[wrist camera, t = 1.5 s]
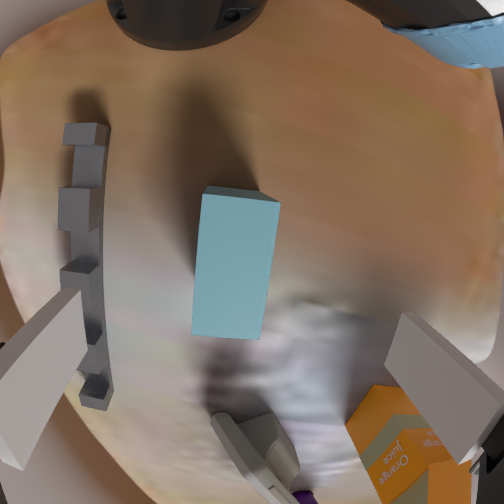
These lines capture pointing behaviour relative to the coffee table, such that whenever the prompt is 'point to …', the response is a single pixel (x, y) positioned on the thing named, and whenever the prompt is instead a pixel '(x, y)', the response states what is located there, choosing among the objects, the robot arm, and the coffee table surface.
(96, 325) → the rail
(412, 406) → the orange juice
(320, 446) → the coffee table surface
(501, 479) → the robot arm
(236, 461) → the digital clock
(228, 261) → the block
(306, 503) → the potion bottle
